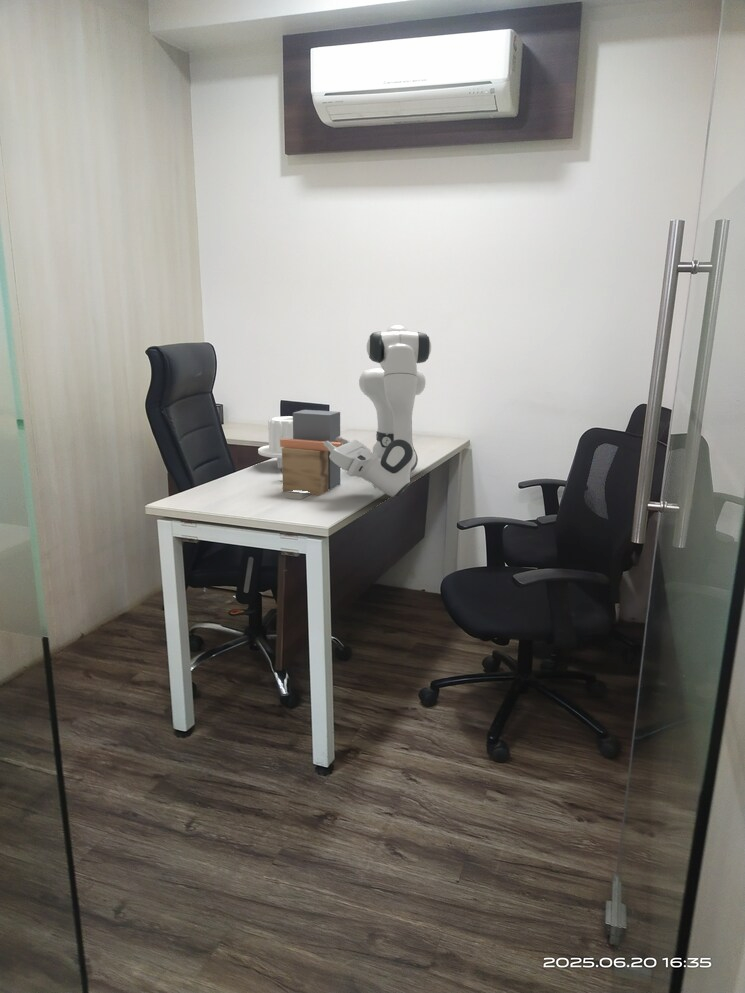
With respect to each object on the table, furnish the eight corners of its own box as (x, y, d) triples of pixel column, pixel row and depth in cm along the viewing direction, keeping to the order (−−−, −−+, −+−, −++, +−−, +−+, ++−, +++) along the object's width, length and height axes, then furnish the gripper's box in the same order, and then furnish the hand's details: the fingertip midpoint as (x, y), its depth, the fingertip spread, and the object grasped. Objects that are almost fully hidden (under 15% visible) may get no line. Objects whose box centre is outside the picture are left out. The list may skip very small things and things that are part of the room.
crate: (292, 486, 249) (291, 444, 245) (328, 490, 244) (328, 447, 240) (282, 491, 243) (281, 448, 239) (319, 495, 238) (319, 451, 234)
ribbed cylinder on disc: (319, 458, 297) (318, 414, 292) (323, 471, 273) (323, 423, 268) (259, 460, 293) (257, 414, 289) (258, 473, 269) (256, 424, 265)
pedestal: (305, 480, 258) (304, 409, 252) (340, 483, 254) (340, 411, 247) (294, 485, 250) (292, 412, 244) (330, 489, 245) (329, 415, 239)
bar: (283, 445, 244) (283, 438, 243) (342, 450, 236) (342, 442, 236) (280, 446, 241) (280, 439, 241) (339, 451, 234) (339, 444, 233)
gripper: (379, 450, 241) (347, 427, 243) (357, 461, 223) (322, 437, 225) (371, 464, 244) (339, 442, 246) (348, 477, 225) (314, 453, 227)
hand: (331, 440), depth 235 cm, fingers open, 8 cm apart
